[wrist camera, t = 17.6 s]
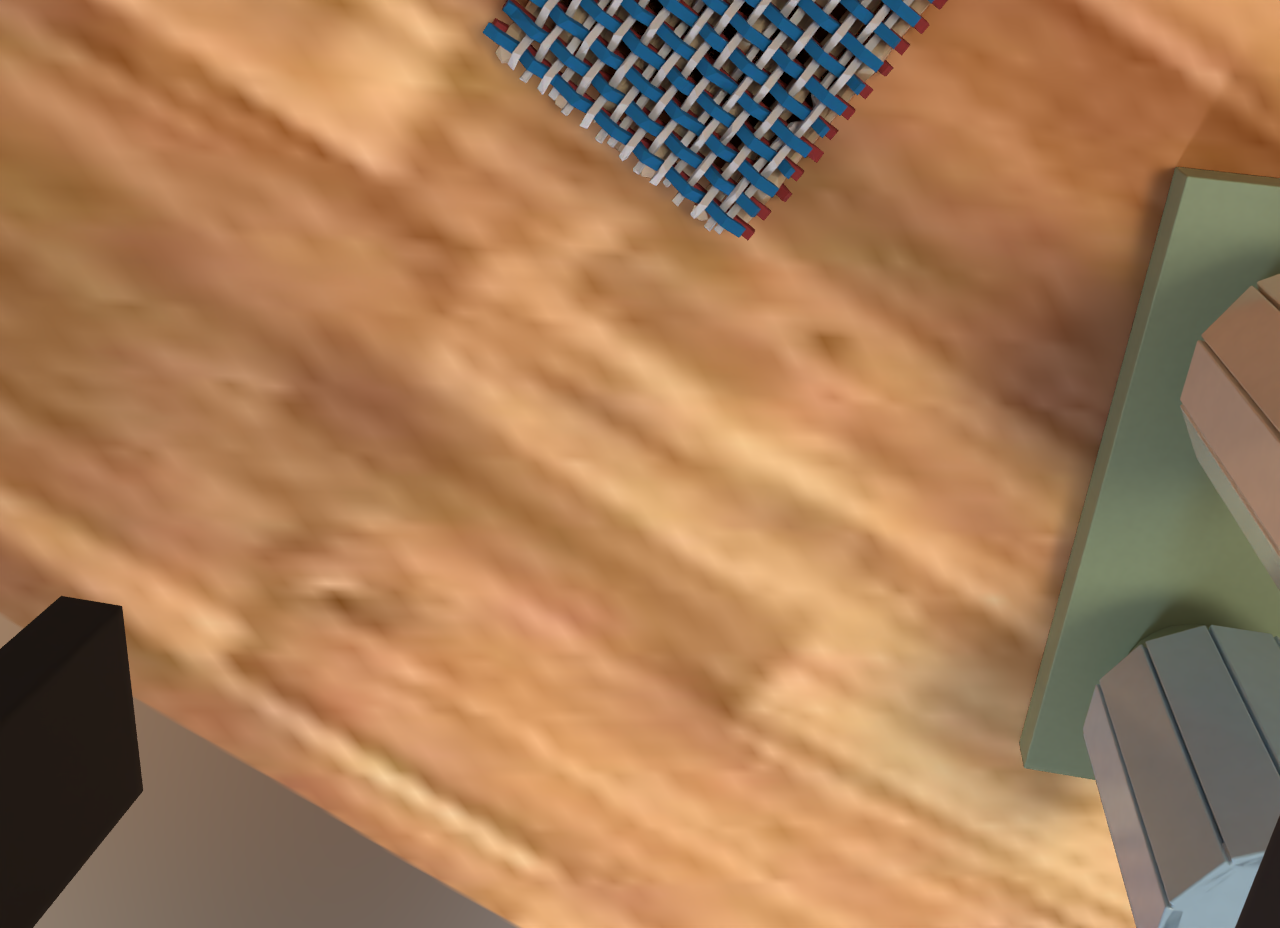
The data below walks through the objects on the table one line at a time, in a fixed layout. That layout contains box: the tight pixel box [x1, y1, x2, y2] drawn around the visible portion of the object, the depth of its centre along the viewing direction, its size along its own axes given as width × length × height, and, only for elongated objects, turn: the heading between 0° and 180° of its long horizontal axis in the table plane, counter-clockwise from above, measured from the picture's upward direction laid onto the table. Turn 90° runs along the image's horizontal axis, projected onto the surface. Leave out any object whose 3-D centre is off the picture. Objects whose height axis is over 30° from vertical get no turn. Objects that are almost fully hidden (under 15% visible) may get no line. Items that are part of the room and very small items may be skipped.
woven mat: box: [483, 0, 947, 240], centre depth 37 cm, size 10×11×2 cm
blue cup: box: [1083, 625, 1280, 928], centre depth 36 cm, size 8×10×10 cm
